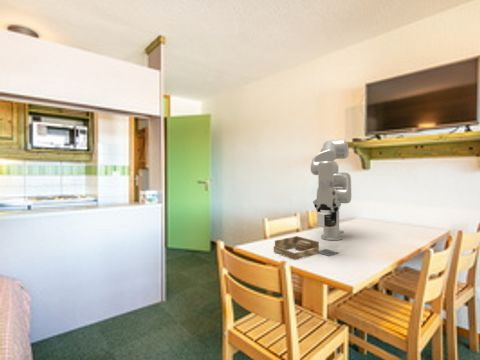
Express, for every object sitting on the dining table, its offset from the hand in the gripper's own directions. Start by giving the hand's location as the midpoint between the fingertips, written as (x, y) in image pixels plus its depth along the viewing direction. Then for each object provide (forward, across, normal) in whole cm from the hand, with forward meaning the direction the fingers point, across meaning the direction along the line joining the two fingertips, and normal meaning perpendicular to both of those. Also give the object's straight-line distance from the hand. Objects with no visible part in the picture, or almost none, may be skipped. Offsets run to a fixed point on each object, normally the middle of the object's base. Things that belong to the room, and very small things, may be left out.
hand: (326, 218), depth 138 cm
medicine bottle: (+4, 0, 0) cm, 4 cm away
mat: (+18, 0, 0) cm, 18 cm away
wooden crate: (+18, +10, +12) cm, 24 cm away
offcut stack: (+18, +10, +7) cm, 22 cm away
